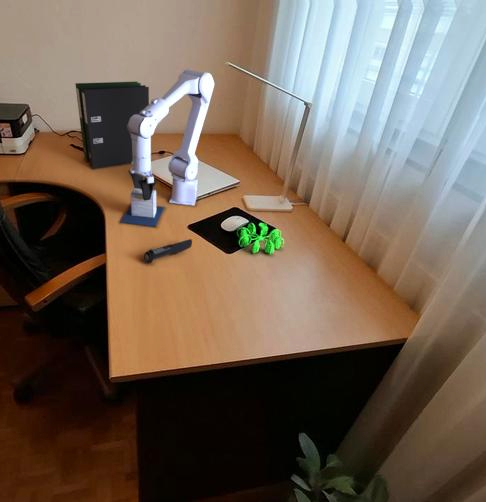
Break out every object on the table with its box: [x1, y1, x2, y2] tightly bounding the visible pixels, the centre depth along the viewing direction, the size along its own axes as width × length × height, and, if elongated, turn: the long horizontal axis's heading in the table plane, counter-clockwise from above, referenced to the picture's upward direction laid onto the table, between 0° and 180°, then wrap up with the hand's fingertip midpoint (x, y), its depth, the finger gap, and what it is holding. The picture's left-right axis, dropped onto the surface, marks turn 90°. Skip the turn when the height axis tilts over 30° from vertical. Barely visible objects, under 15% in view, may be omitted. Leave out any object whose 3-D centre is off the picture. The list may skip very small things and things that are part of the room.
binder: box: [74, 81, 150, 170], centre depth 154 cm, size 27×15×32 cm, turn 118°
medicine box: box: [130, 187, 157, 218], centre depth 119 cm, size 8×4×9 cm, turn 82°
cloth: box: [120, 205, 165, 228], centre depth 121 cm, size 12×14×1 cm
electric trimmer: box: [142, 238, 193, 264], centre depth 102 cm, size 4×16×3 cm, turn 122°
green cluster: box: [236, 222, 285, 255], centre depth 108 cm, size 15×15×7 cm
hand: (142, 194), depth 117 cm, fingers open, 7 cm apart
